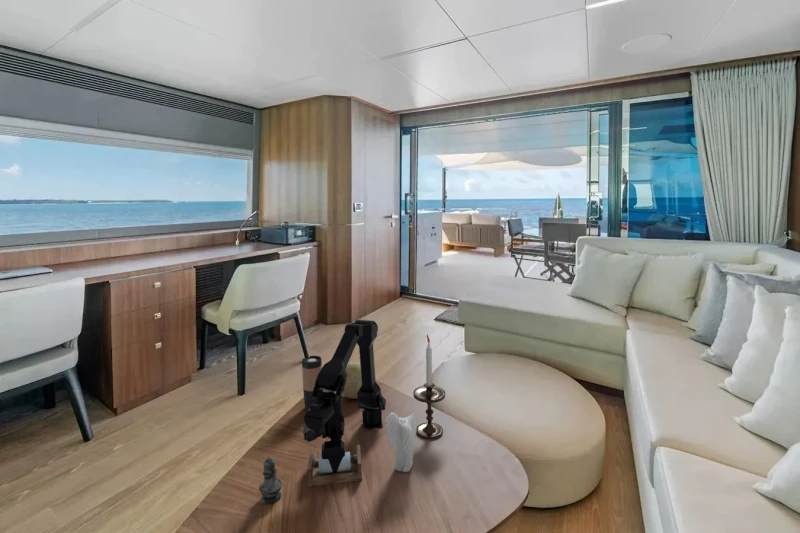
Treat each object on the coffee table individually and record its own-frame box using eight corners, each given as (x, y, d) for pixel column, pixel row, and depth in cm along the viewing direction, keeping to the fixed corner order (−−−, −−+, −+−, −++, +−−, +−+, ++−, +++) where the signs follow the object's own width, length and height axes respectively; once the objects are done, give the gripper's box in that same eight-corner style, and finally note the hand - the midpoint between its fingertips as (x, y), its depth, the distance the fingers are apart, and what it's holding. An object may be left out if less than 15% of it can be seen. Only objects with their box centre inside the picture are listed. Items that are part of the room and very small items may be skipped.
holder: (360, 460, 119) (359, 444, 118) (361, 480, 110) (361, 463, 109) (310, 465, 117) (309, 450, 116) (308, 486, 108) (307, 469, 107)
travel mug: (321, 412, 148) (319, 362, 146) (302, 412, 148) (299, 363, 146) (325, 402, 156) (323, 355, 153) (307, 402, 156) (304, 355, 153)
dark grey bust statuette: (261, 508, 100) (258, 466, 98) (258, 494, 105) (255, 453, 104) (284, 500, 103) (282, 458, 101) (280, 486, 108) (277, 447, 106)
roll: (350, 462, 116) (349, 447, 115) (350, 474, 111) (350, 458, 110) (320, 466, 115) (319, 451, 114) (319, 478, 110) (318, 462, 109)
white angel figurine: (420, 461, 118) (419, 406, 115) (412, 479, 110) (411, 420, 107) (394, 456, 120) (393, 402, 118) (385, 473, 113) (383, 415, 110)
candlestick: (408, 428, 136) (406, 332, 131) (433, 420, 141) (432, 327, 136) (425, 444, 126) (423, 341, 121) (451, 434, 131) (451, 335, 127)
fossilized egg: (372, 390, 166) (370, 357, 164) (366, 404, 153) (365, 368, 151) (343, 389, 167) (341, 356, 165) (335, 404, 155) (334, 368, 153)
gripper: (306, 399, 119) (309, 446, 121) (300, 432, 100) (303, 487, 102) (343, 395, 120) (345, 442, 122) (343, 428, 102) (346, 482, 104)
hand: (335, 461), depth 113 cm, fingers open, 9 cm apart
